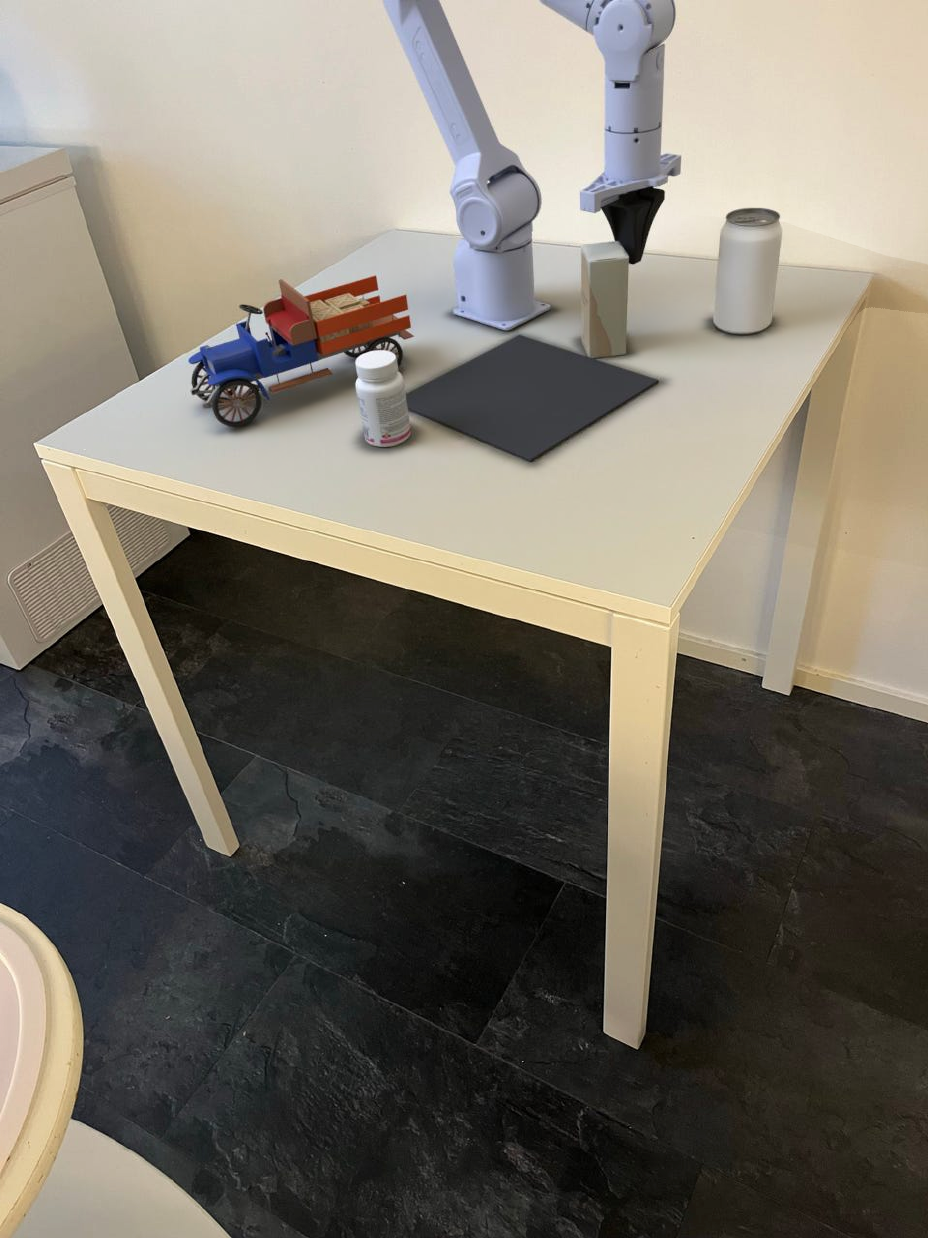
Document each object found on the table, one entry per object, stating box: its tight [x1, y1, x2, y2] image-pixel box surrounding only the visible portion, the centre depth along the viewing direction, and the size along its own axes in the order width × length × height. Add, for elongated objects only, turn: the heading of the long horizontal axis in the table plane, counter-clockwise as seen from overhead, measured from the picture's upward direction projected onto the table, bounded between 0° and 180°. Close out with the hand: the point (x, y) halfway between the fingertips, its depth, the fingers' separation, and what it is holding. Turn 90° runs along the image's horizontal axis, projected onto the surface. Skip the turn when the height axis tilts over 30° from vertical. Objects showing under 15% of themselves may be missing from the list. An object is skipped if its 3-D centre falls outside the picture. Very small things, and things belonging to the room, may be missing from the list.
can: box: [712, 207, 783, 335], centre depth 106 cm, size 6×6×12 cm
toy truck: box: [188, 275, 415, 428], centre depth 104 cm, size 8×25×11 cm, turn 120°
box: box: [580, 240, 630, 359], centre depth 105 cm, size 5×4×11 cm
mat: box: [406, 334, 660, 463], centre depth 102 cm, size 20×20×1 cm
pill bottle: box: [354, 349, 412, 448], centre depth 95 cm, size 5×5×8 cm
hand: (630, 261), depth 105 cm, fingers closed
